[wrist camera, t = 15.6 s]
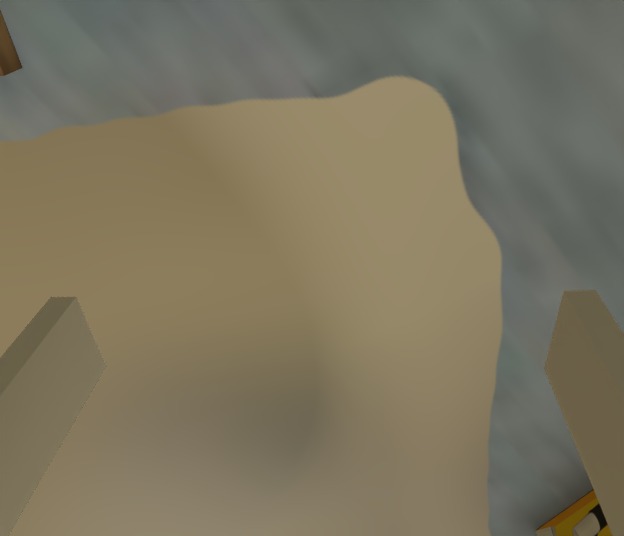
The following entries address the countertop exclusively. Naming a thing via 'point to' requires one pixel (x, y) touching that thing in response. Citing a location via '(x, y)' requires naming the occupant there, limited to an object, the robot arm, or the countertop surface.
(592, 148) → the countertop surface
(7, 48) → the stand
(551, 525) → the packaging box
